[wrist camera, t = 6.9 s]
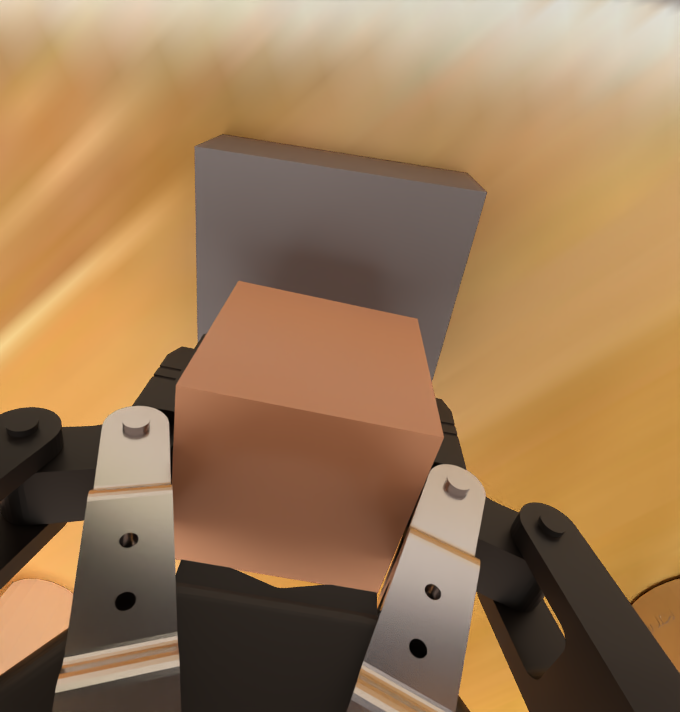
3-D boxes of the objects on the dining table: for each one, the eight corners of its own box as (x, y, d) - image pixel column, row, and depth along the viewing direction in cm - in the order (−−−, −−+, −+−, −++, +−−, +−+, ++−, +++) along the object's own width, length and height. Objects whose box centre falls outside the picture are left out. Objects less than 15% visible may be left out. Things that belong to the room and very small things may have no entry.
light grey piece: (59, 567, 34) (-6, 673, 28) (106, 621, 37) (57, 726, 31) (-21, 579, 35) (-100, 683, 29) (31, 630, 39) (-30, 733, 33)
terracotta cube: (417, 318, 13) (444, 437, 9) (373, 451, 16) (377, 593, 11) (238, 280, 13) (175, 385, 8) (223, 422, 15) (168, 558, 11)
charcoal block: (465, 171, 20) (487, 192, 16) (412, 372, 25) (420, 420, 21) (224, 133, 19) (194, 146, 16) (221, 344, 24) (198, 388, 21)
